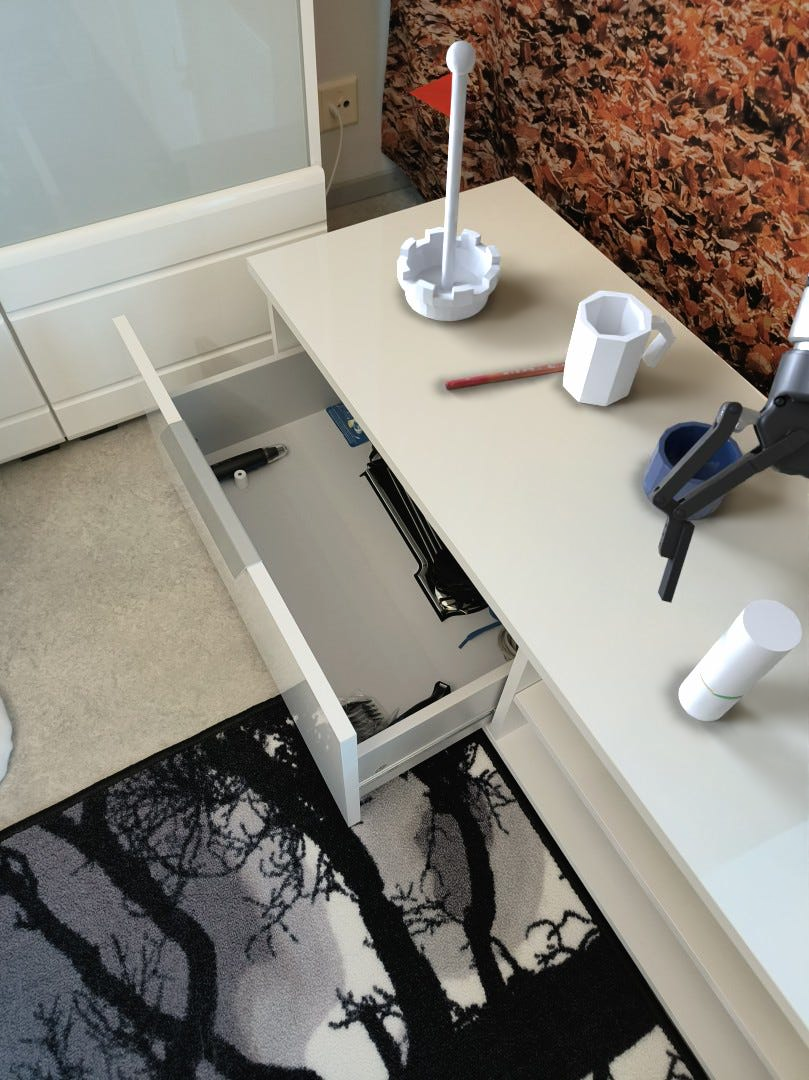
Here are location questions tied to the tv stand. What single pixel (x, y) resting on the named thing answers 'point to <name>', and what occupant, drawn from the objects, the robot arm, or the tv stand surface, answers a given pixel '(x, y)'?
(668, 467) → the cup
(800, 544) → the tv stand surface
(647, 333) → the mug
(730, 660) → the tube
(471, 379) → the pencil
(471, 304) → the flag stand
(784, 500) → the tv stand surface
